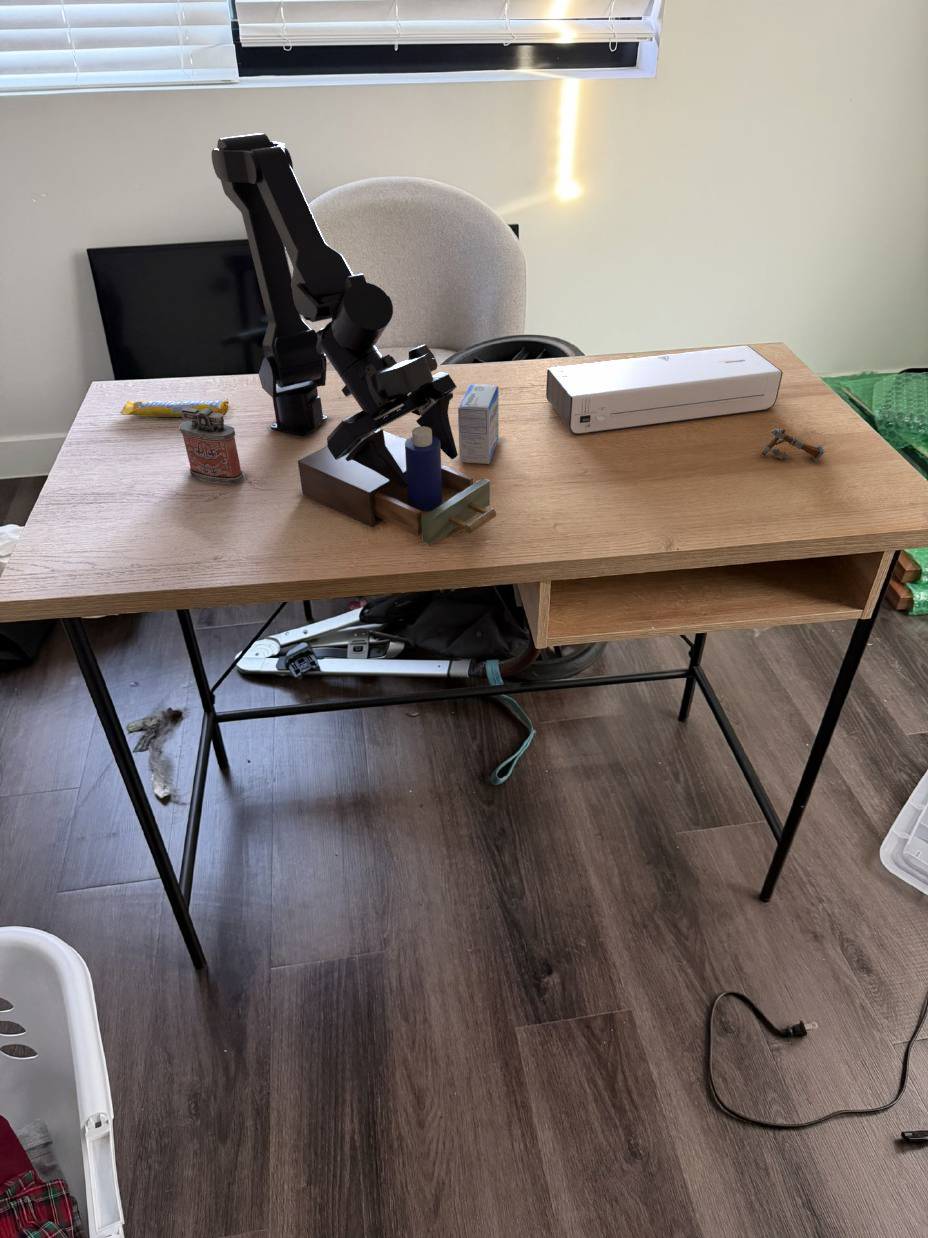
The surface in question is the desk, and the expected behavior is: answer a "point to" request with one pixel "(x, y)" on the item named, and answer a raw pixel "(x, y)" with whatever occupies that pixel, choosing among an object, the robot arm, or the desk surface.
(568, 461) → the desk surface
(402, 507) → the drawer
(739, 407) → the laminator
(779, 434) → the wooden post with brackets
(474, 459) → the medicine box
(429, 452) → the glue bottle
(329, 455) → the cabinet
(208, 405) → the candy bar
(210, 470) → the lighter
